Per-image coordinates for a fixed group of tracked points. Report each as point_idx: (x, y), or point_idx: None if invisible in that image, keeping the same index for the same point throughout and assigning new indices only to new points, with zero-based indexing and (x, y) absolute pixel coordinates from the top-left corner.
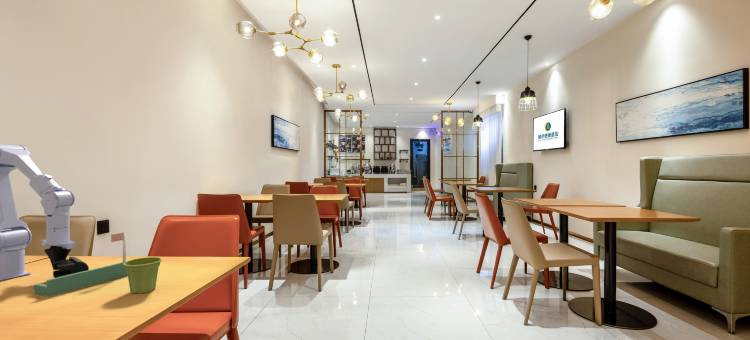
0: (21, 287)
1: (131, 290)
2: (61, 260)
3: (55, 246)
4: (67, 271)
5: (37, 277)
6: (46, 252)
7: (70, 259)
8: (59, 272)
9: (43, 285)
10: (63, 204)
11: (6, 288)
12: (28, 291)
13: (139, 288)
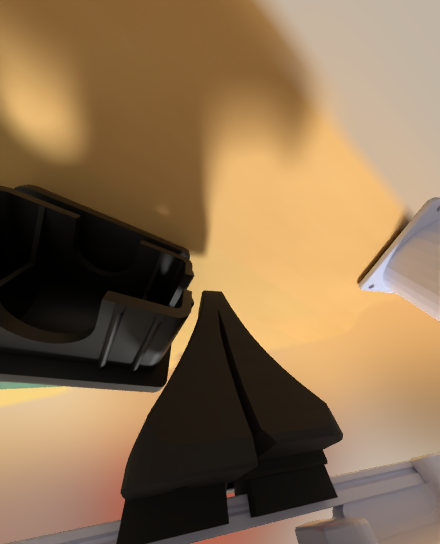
0: (230, 113)
1: None
2: (141, 345)
3: (250, 510)
4: (142, 299)
5: (303, 267)
6: (292, 394)
7: (128, 369)
8: (176, 285)
9: None
10: None
11: (307, 71)
12: (55, 3)
13: None
